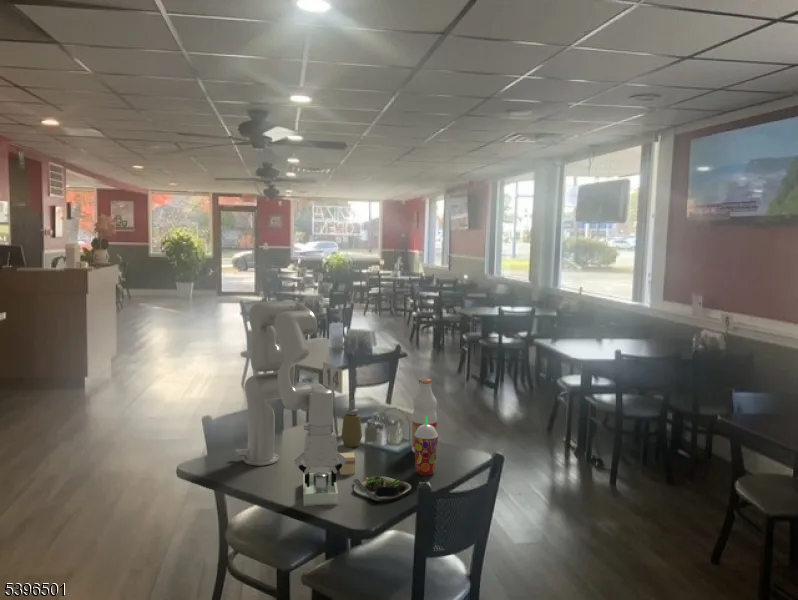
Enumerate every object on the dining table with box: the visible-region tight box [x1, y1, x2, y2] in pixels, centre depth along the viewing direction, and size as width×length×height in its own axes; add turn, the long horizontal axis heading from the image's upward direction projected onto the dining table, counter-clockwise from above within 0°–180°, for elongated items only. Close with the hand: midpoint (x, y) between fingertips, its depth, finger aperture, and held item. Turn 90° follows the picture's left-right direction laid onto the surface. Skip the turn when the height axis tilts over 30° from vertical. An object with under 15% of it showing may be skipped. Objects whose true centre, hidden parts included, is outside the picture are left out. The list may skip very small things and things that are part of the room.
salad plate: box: [352, 475, 413, 503], centre depth 208 cm, size 19×18×5 cm
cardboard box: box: [338, 452, 356, 476], centre depth 224 cm, size 5×5×6 cm
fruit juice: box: [411, 378, 438, 454], centre depth 246 cm, size 9×9×28 cm
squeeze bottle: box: [341, 399, 363, 448], centre depth 252 cm, size 8×8×18 cm
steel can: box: [313, 471, 329, 494], centre depth 200 cm, size 5×5×7 cm
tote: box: [302, 472, 339, 507], centre depth 204 cm, size 10×18×4 cm, turn 9°
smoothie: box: [414, 416, 439, 477], centre depth 224 cm, size 8×8×20 cm
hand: (320, 484), depth 200 cm, fingers open, 7 cm apart
